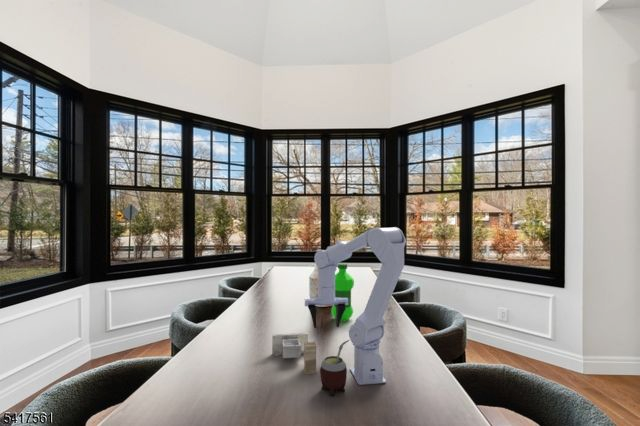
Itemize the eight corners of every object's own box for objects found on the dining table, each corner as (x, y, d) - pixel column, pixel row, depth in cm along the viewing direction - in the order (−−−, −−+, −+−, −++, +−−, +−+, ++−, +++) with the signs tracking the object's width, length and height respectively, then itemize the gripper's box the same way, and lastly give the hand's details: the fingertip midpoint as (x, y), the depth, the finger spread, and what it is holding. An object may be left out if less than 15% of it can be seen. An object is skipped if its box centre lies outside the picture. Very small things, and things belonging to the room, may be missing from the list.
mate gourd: (322, 382, 89) (322, 328, 89) (350, 385, 88) (351, 330, 88) (317, 397, 81) (318, 338, 82) (348, 400, 80) (349, 340, 80)
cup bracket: (310, 362, 101) (311, 342, 101) (272, 365, 99) (272, 344, 99) (307, 351, 109) (307, 332, 109) (272, 353, 107) (272, 334, 107)
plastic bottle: (329, 316, 149) (330, 262, 150) (352, 316, 150) (352, 262, 150) (331, 323, 139) (331, 265, 140) (355, 323, 140) (355, 266, 140)
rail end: (316, 373, 94) (316, 345, 94) (305, 373, 94) (305, 346, 94) (314, 368, 97) (314, 341, 97) (304, 368, 97) (304, 342, 97)
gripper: (345, 283, 111) (344, 322, 111) (303, 284, 109) (303, 323, 109) (349, 287, 104) (349, 328, 104) (305, 288, 102) (305, 331, 102)
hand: (326, 326), depth 106 cm, fingers open, 7 cm apart
